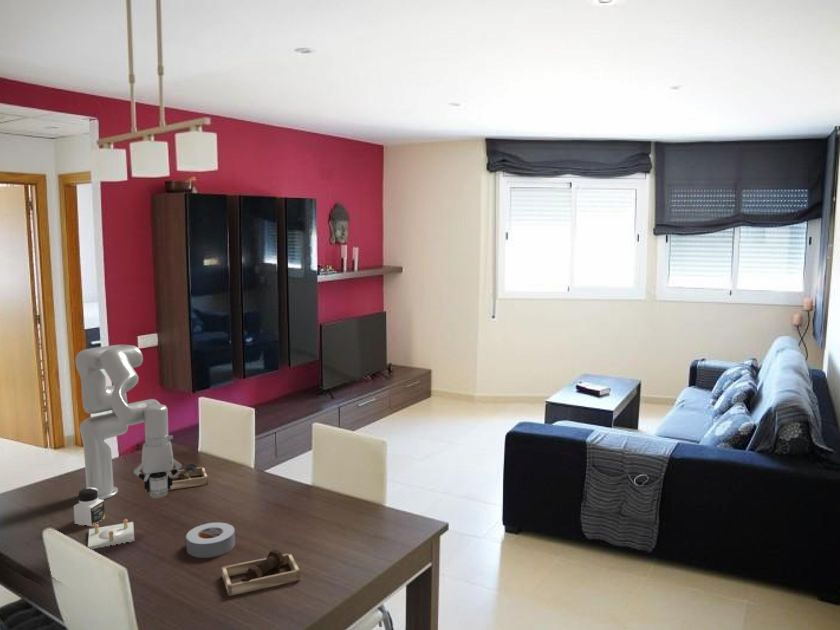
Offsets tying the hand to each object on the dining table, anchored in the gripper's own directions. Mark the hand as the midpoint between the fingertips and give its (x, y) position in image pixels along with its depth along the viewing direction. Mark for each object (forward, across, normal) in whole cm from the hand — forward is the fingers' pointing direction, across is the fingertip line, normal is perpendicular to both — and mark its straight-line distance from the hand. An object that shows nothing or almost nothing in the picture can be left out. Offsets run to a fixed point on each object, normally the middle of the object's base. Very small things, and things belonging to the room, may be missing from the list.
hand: (158, 488), depth 231 cm
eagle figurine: (+15, -13, -40) cm, 44 cm away
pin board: (+14, +16, +2) cm, 21 cm away
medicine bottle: (+15, +22, -14) cm, 30 cm away
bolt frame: (+12, -26, +50) cm, 57 cm away
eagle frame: (+15, -12, -39) cm, 44 cm away
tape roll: (+14, -14, +23) cm, 30 cm away
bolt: (+12, -26, +50) cm, 57 cm away
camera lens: (+2, 0, 0) cm, 2 cm away
